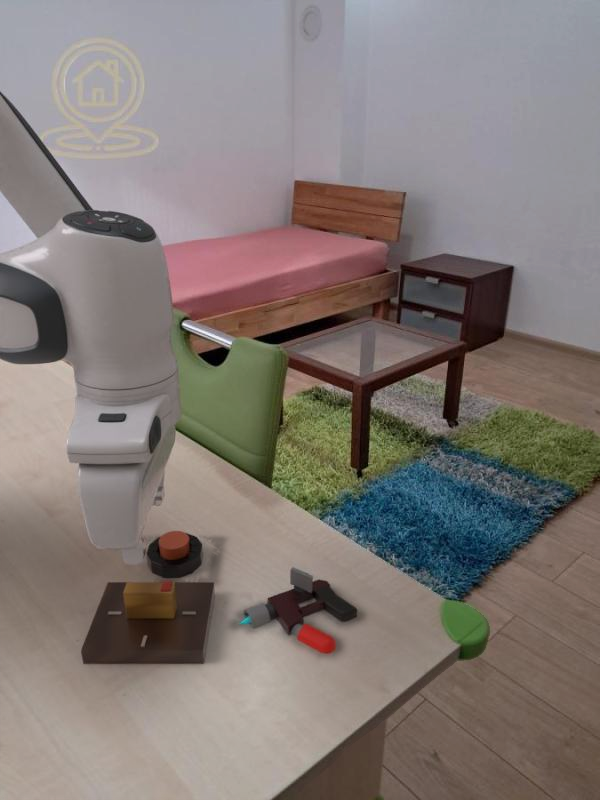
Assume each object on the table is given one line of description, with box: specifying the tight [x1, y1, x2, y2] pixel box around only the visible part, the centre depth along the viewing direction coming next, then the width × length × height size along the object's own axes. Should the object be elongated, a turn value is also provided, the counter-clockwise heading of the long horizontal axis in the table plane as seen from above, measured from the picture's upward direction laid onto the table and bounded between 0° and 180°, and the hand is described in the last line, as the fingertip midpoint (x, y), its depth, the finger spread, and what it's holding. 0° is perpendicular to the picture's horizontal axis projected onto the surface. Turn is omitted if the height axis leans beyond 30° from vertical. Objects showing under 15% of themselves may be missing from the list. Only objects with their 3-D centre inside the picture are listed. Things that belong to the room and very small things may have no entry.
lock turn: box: [123, 580, 177, 619], centre depth 66 cm, size 5×2×4 cm, turn 91°
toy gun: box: [238, 566, 358, 655], centre depth 67 cm, size 10×12×5 cm
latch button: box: [159, 530, 190, 560], centre depth 77 cm, size 4×4×2 cm
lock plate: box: [80, 581, 216, 665], centre depth 67 cm, size 12×10×3 cm
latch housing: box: [146, 532, 204, 579], centre depth 77 cm, size 10×8×3 cm
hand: (146, 528), depth 62 cm, fingers open, 8 cm apart
